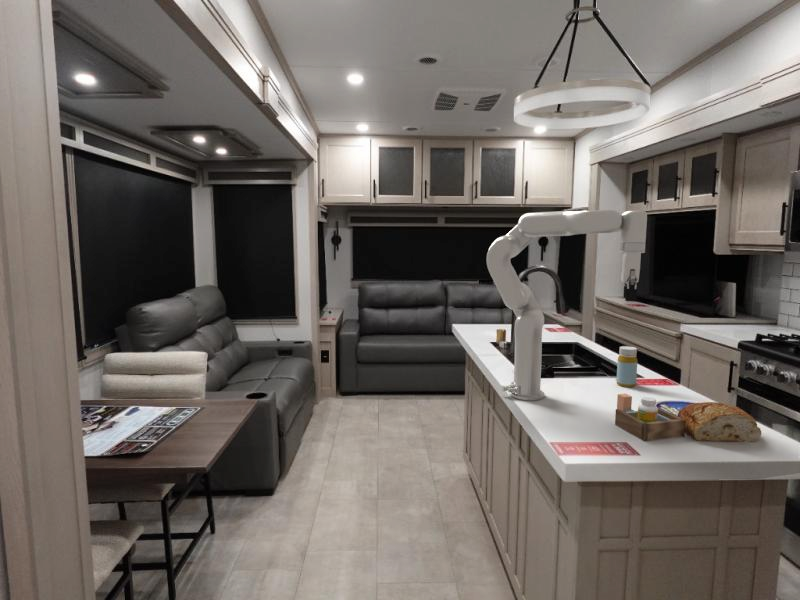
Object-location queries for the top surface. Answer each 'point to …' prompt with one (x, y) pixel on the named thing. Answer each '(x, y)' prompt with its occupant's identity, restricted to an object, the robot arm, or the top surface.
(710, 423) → the bread
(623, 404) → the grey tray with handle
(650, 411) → the supplement bottle
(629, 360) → the bottle
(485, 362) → the top surface
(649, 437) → the wooden tray
